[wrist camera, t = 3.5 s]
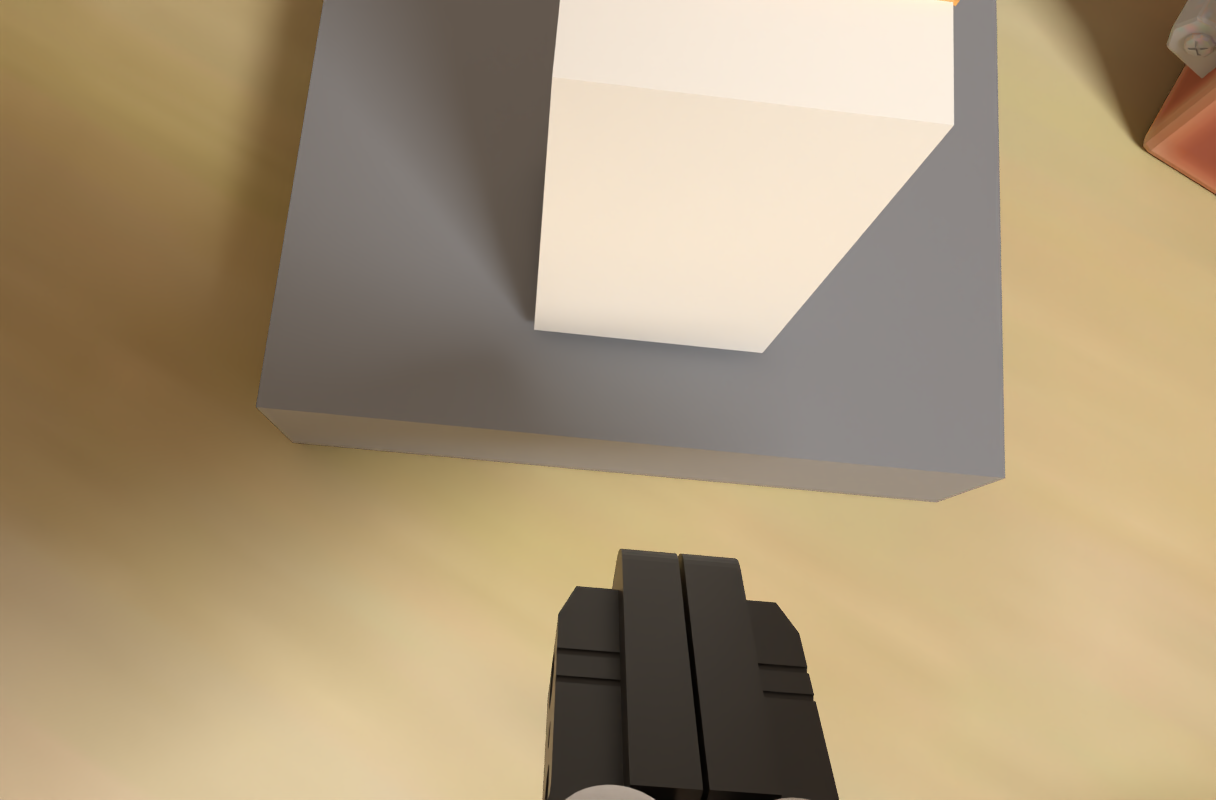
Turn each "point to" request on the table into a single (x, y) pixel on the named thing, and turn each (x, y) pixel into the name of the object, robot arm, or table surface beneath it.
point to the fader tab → (727, 156)
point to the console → (602, 366)
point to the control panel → (1190, 98)
